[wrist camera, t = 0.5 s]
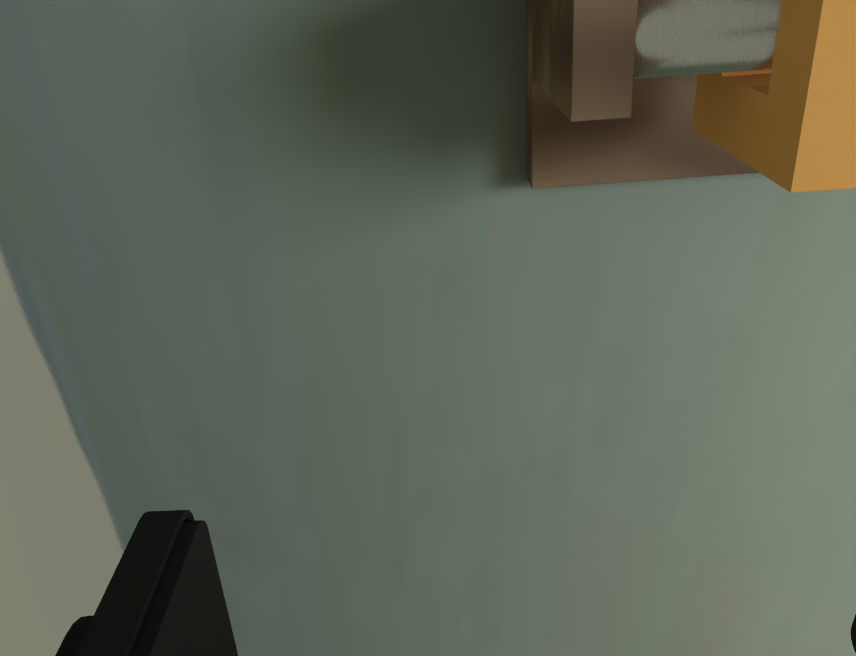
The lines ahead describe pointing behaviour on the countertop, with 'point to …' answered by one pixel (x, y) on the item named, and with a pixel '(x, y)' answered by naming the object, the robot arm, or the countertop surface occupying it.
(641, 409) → the countertop surface
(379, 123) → the countertop surface
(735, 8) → the pipe stand
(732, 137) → the collar
